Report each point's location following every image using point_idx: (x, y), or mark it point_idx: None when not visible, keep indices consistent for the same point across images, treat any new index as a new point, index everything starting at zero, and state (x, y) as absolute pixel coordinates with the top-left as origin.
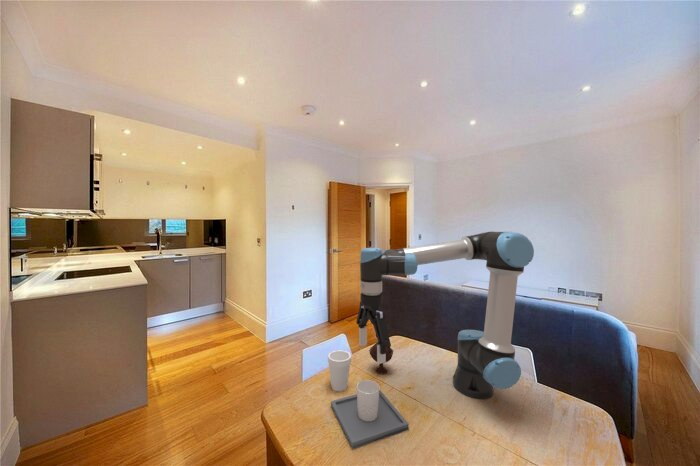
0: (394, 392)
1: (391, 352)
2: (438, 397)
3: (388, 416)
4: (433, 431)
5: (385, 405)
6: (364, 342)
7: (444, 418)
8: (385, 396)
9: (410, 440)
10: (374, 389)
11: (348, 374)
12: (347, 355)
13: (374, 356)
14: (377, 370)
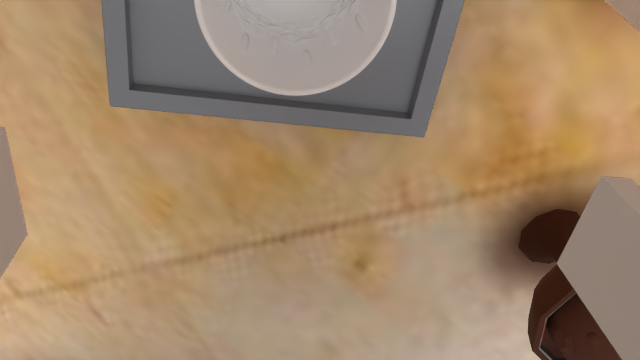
0: (374, 192)
1: (556, 354)
2: (241, 315)
3: None
4: (71, 178)
5: None
6: (595, 265)
7: (124, 259)
8: (347, 129)
9: (52, 55)
10: (313, 61)
11: (631, 22)
12: None
13: None
14: (562, 221)
